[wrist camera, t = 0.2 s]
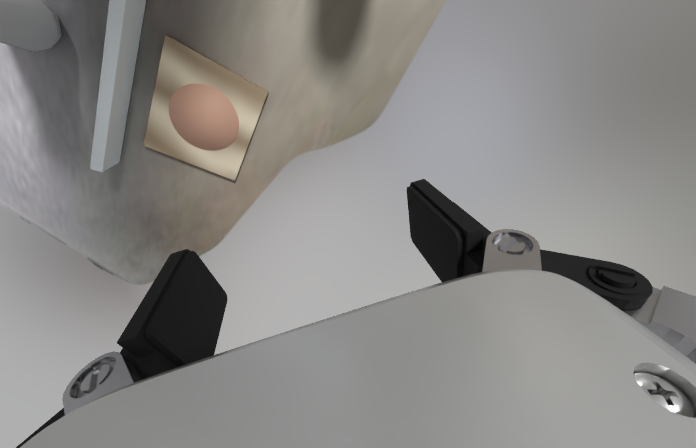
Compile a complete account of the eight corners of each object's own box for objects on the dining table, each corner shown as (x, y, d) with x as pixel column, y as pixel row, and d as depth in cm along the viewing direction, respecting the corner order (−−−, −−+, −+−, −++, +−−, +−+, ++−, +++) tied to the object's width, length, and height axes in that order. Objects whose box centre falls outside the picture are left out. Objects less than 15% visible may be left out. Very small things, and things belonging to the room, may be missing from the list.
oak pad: (167, 35, 29) (164, 34, 28) (268, 92, 34) (267, 92, 34) (145, 144, 34) (142, 145, 34) (235, 179, 39) (234, 181, 39)
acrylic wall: (135, -28, 26) (114, -42, 23) (149, -20, 27) (130, -32, 23) (108, 158, 34) (89, 168, 31) (119, 162, 35) (102, 172, 31)
